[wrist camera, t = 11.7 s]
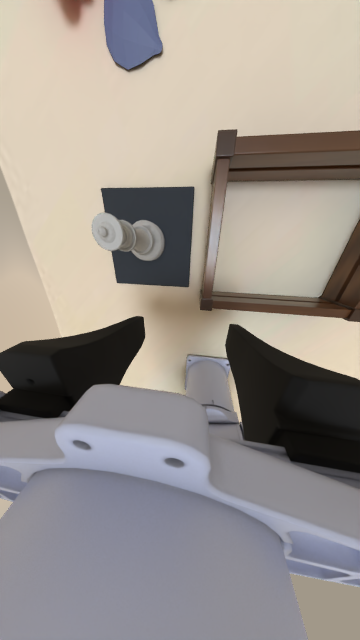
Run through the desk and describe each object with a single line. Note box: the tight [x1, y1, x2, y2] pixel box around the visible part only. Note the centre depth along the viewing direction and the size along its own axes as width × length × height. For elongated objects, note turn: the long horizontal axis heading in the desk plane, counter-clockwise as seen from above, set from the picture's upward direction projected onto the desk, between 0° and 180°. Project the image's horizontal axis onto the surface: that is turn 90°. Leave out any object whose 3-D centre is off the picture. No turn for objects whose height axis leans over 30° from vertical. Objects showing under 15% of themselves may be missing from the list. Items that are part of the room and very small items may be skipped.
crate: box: [200, 129, 360, 322], centre depth 15 cm, size 14×17×5 cm
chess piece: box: [92, 213, 165, 261], centre depth 13 cm, size 4×4×10 cm
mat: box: [101, 187, 194, 287], centre depth 18 cm, size 11×11×1 cm
